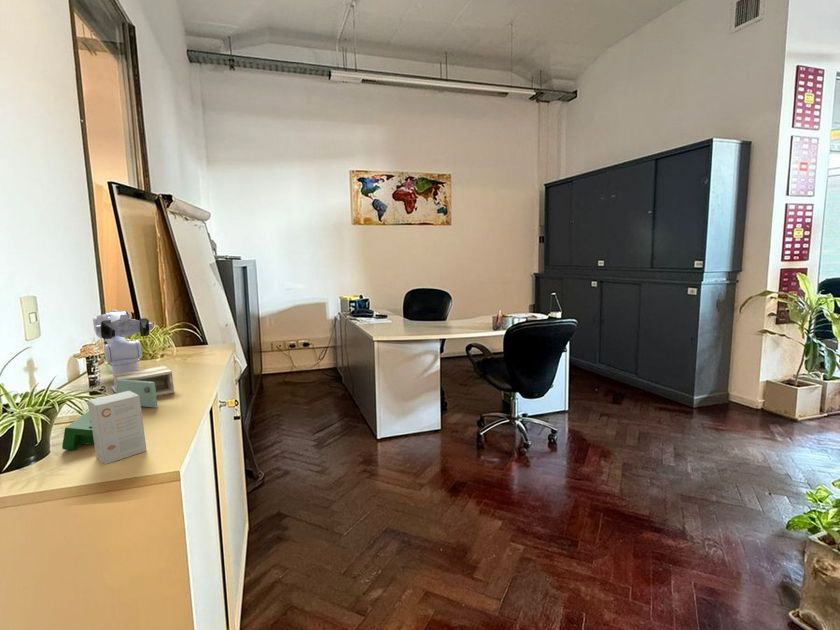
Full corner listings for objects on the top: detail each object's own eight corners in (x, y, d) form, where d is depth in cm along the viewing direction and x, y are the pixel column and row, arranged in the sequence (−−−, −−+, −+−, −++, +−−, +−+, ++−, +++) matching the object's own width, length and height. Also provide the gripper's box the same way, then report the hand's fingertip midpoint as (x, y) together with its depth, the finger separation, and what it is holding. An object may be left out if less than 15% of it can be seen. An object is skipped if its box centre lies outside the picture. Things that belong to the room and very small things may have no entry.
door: (122, 402, 132) (119, 379, 131) (157, 406, 128) (154, 381, 127) (117, 404, 131) (113, 380, 130) (152, 408, 126) (149, 383, 125)
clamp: (93, 464, 103) (92, 436, 99) (63, 462, 101) (60, 433, 97) (116, 427, 113) (115, 400, 109) (89, 424, 111) (87, 397, 107)
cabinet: (117, 395, 140) (114, 374, 139) (166, 385, 149) (164, 365, 148) (122, 403, 133) (119, 380, 132) (174, 392, 142) (171, 371, 141)
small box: (137, 444, 103) (130, 389, 101) (147, 451, 98) (140, 394, 97) (95, 457, 96) (87, 399, 95) (104, 465, 92) (95, 405, 91)
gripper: (93, 313, 135) (98, 320, 125) (148, 311, 144) (157, 317, 134) (94, 336, 136) (99, 344, 125) (149, 332, 145) (158, 340, 135)
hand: (129, 332), depth 130 cm, fingers open, 7 cm apart
